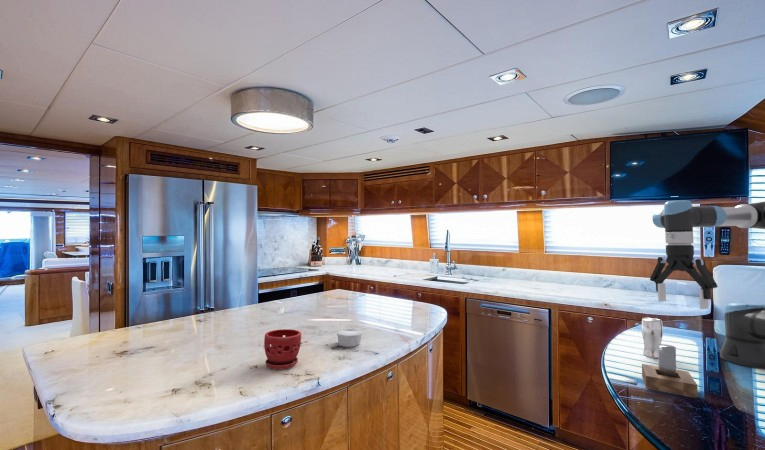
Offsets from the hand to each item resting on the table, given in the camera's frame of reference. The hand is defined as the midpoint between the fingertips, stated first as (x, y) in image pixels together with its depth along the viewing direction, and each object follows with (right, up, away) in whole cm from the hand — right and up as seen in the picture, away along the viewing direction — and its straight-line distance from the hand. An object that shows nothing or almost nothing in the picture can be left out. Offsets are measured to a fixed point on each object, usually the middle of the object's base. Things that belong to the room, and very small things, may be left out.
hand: (682, 304), depth 121 cm
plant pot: (-143, -24, +6) cm, 145 cm away
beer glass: (+6, -26, +21) cm, 34 cm away
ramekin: (-120, -25, +32) cm, 127 cm away
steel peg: (-11, -25, -8) cm, 28 cm away
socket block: (-11, -25, -8) cm, 28 cm away
